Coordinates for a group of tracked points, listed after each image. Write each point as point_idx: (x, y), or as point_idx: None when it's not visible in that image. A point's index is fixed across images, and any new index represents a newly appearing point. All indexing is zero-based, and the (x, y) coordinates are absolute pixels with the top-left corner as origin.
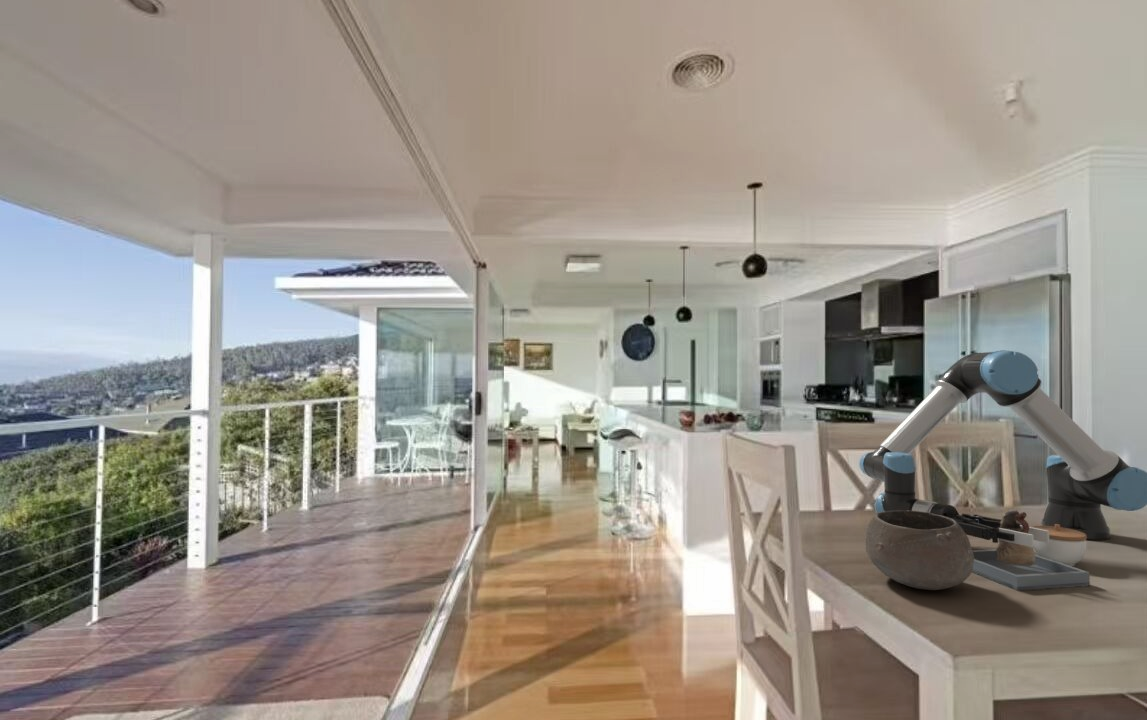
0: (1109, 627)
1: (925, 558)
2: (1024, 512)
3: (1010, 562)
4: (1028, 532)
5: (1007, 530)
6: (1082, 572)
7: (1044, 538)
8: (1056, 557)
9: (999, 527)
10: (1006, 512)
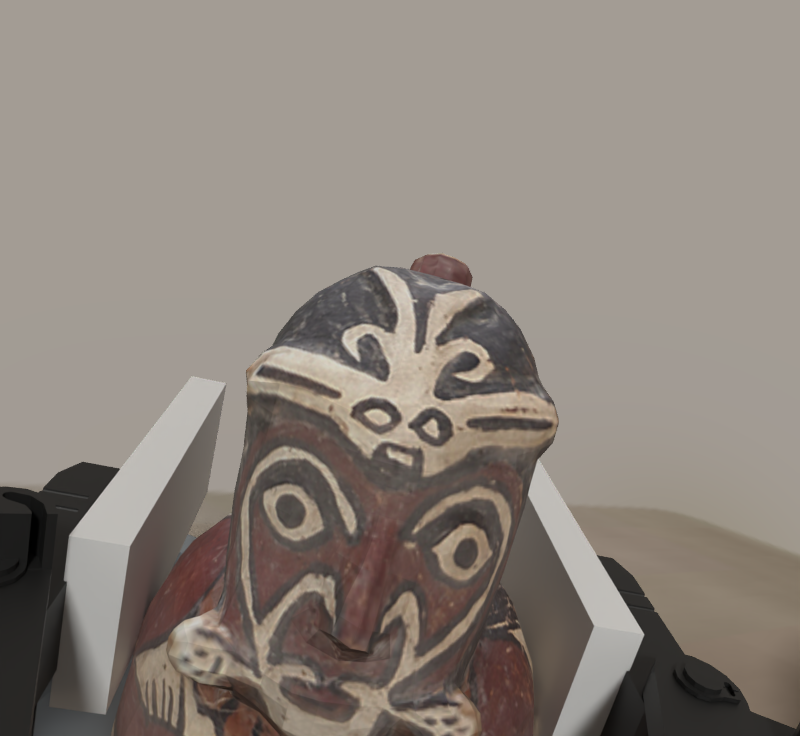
0: (622, 540)
1: None
2: (435, 255)
3: None
4: (175, 516)
5: (601, 564)
6: (193, 539)
7: (208, 469)
8: None
9: (461, 692)
10: (493, 355)
